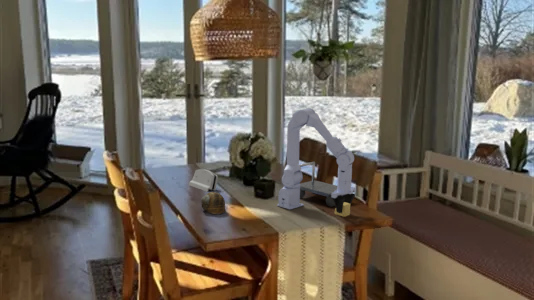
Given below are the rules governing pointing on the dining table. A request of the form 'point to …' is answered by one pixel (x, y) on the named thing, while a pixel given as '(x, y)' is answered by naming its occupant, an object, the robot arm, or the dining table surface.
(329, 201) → the trolley
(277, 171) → the dining table surface
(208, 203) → the seashell
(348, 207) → the yellow cube-like block
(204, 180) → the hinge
